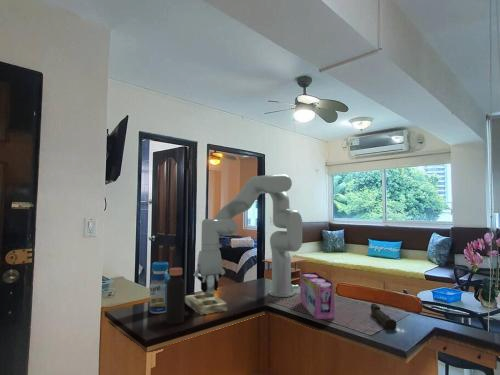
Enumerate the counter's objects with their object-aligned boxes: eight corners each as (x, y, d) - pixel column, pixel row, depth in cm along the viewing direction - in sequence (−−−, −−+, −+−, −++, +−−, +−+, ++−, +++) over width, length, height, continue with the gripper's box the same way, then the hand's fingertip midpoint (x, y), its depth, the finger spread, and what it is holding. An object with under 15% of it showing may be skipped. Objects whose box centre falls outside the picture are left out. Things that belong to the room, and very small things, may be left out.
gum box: (336, 319, 124) (336, 284, 124) (316, 320, 123) (316, 285, 123) (316, 301, 147) (316, 272, 148) (299, 302, 146) (299, 272, 147)
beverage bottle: (173, 310, 134) (174, 262, 136) (155, 315, 128) (156, 265, 129) (162, 306, 140) (163, 260, 141) (145, 311, 134) (146, 262, 135)
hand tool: (397, 331, 113) (396, 317, 113) (385, 330, 113) (385, 317, 113) (378, 313, 131) (378, 302, 132) (369, 313, 132) (368, 302, 132)
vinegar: (164, 320, 123) (165, 267, 124) (182, 317, 126) (182, 266, 127) (167, 326, 117) (168, 270, 118) (185, 323, 119) (186, 269, 121)
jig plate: (209, 298, 152) (209, 292, 152) (227, 310, 134) (227, 303, 134) (184, 302, 146) (184, 295, 146) (200, 315, 128) (200, 307, 128)
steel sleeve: (212, 294, 139) (212, 273, 139) (216, 296, 135) (216, 274, 136) (202, 295, 137) (202, 273, 137) (206, 297, 133) (206, 275, 133)
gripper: (224, 245, 145) (223, 286, 143) (188, 247, 136) (187, 291, 135) (231, 247, 138) (231, 290, 137) (194, 249, 130) (193, 295, 129)
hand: (209, 290), depth 136 cm, fingers closed on steel sleeve, 4 cm apart
